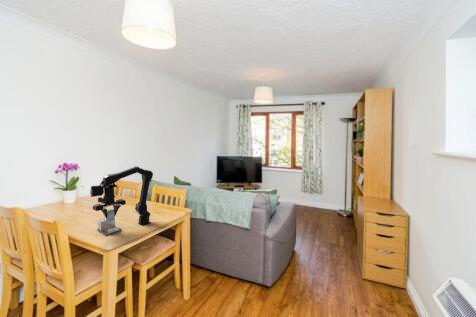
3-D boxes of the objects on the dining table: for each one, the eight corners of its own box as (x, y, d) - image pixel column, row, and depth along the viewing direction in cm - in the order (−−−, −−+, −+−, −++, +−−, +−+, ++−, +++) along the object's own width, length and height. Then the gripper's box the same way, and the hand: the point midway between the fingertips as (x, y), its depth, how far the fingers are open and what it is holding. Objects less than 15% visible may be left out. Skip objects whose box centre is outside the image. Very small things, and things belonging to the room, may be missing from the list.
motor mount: (112, 226, 163) (112, 216, 162) (121, 230, 155) (121, 220, 154) (97, 230, 155) (96, 220, 154) (105, 236, 147) (105, 225, 146)
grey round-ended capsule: (116, 219, 153) (115, 210, 153) (108, 221, 149) (107, 212, 149) (112, 217, 156) (112, 208, 156) (104, 219, 152) (104, 210, 152)
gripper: (117, 189, 163) (118, 211, 165) (88, 195, 148) (89, 218, 150) (125, 192, 157) (126, 214, 158) (95, 198, 142) (97, 222, 143)
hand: (110, 217), depth 152 cm, fingers closed on grey round-ended capsule, 5 cm apart
